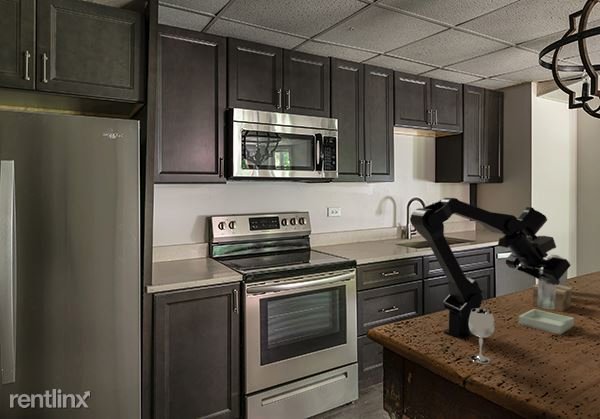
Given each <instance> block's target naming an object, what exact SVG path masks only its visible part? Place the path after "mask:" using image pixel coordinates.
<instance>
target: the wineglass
mask: <svg viewBox="0 0 600 419" xmlns="http://www.w3.org/2000/svg"><path fill="white" fill-rule="evenodd" d="M468 325H469V330H470V332H471V333H472V334H473V335H472V336H476V337H477V338H478V345H479V353H478V354H476V355H471V356H470V360H471V361H472V362H475V363H478V364H482V365H483V364H484V365H485V364H489V363H491V359H490V358H489V357H486V356H483V353H482V352H483V351H482V350H483V349H482V348H483V344H484V339H485V338H490V337H491V336H492V335H493V334H494V332H495V318H494V314H493V311H492V310H490V309H486V308H474V309H472V310H471V312H470V316H469V322H468Z"/></svg>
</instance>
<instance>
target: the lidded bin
mask: <svg viewBox="0 0 600 419" xmlns="http://www.w3.org/2000/svg"><path fill="white" fill-rule="evenodd" d="M531 289H532V290H533V291H532V306H535V307H538V306H537V303H538V283H537V284H534V285H532V286H531ZM572 291H574V287H572V286H568V285H567V286H562V285H556V302H555V309H551V311H552V310H553V311H558V312H564V311H566V310H567V309H569V308H570V307H572V293H573V292H572Z"/></svg>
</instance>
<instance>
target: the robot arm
mask: <svg viewBox="0 0 600 419" xmlns="http://www.w3.org/2000/svg"><path fill="white" fill-rule="evenodd" d="M453 215H456V216H458V217H462V218H464V219H467V220H470V221H473V222H475V223H478V224H480V225H482V226H483V227H484V229H487V230H488V231H489V232H492V233H495V234H501V235H503V236H502V237H499V239H498V243H497V247H501V248H504V249H505V248H506V249H508V248H509V249H510V250H511V252H510V254H509V255H508V256H507V257H506V258H505V265H506V266H507V267H508V268H510V269H516V268H517V271H519V272H520V273H524V274H526V275H529V276H531V277H533V278H535V279H537V280H538V277H539V273H538V269H543V274H542V275H541V277H543V278H545V279H547V280H548V281H550V282H552V283H554V284H556V285H558V284H559V283H560V281H559V279H560V278H561V277H562V275H563V274H564V273H565V272H566V271H567V269H568V270H569V269H570V267H571V265H572V264H571V263H570V261H569V260H568V259H567V258H558V257H552V258H551V259H549V260H545V259H544V257H545V258H546V256H547V255H549V254H548V253H549V252H550V251H551V250H553V249H556V248H557V245H556V242H555V239H554V237H553V236H548V235H538V236H537V233H538V232H539V231H540V230H541V228H542V227H543V226H544V225H545V223H547V221H548V217H547V216H546V215H545V214H543V213H542V212H540V211H539V210H537V209H535V208H534V207H531V206H530V207H529V206H526V207H525V209H524V210H523V212H522V213H521V214H520V215H519V216H518V217H516V216H515V215H513V214H507V213H501V212H491V211H489V210H486V209H484V208H481V207H478V206H475V205H473V204H470V203H467V202H464V201H463V200H462V201H461V200H459V199H458V198H455V197H443V198H442V199H440V200H438V201H436V202H433V203H432V204H429V205H426V206H424V207H422V208H421V207H419V208H416V209H414V210H413V211H412V213H411V215H410V217H409V221H410V224H411V226H412V227H413V228H414V230H416V232H417V233H418V234H419V235H420V236H421V237H423V239H424V240H426V241H427V243H428V245H429V247H430V249H431V251H432V253H433V254H434V256H435V258H436V260H437V262H438V263H439V266H440V267H441V269H442V272H443V273H444V275H445V277H446V279H447V281H448V292H449V294H448V295H447V296H446V297H445V299H444V300H443V301H442V305H443V308H444V309H445V310H447V311H449V312H448V328H447V329H444V330H443V333H444V334H446V335H447V334H448V335H450V336H453V337H456V338H460V339H468V338H470V337H472V336H474V335H473V334H472V333H471V332H470V330H469V325H468V322H469V316H470V312H471V310H472V309H474V308H480V307H481V305H482V303H483V299H484V298H483V295H482V294H483V293H484V291H482V289H481V288H480V286H479V282H478V281H477V280H475V279H473V278H470V277H467V276H466V275H465V273H464V271H463V269H462V267H461V265H460V264H459V261H458V259H457V257H456V256H455V255H454V252H453V250H452V248H451V246H450V244H449V243H448V241H447V239H446V237H445V234H444V233H445V225H444V223H445V222H446V221H448V220H449V219H450V218H451V216H453Z"/></svg>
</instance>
